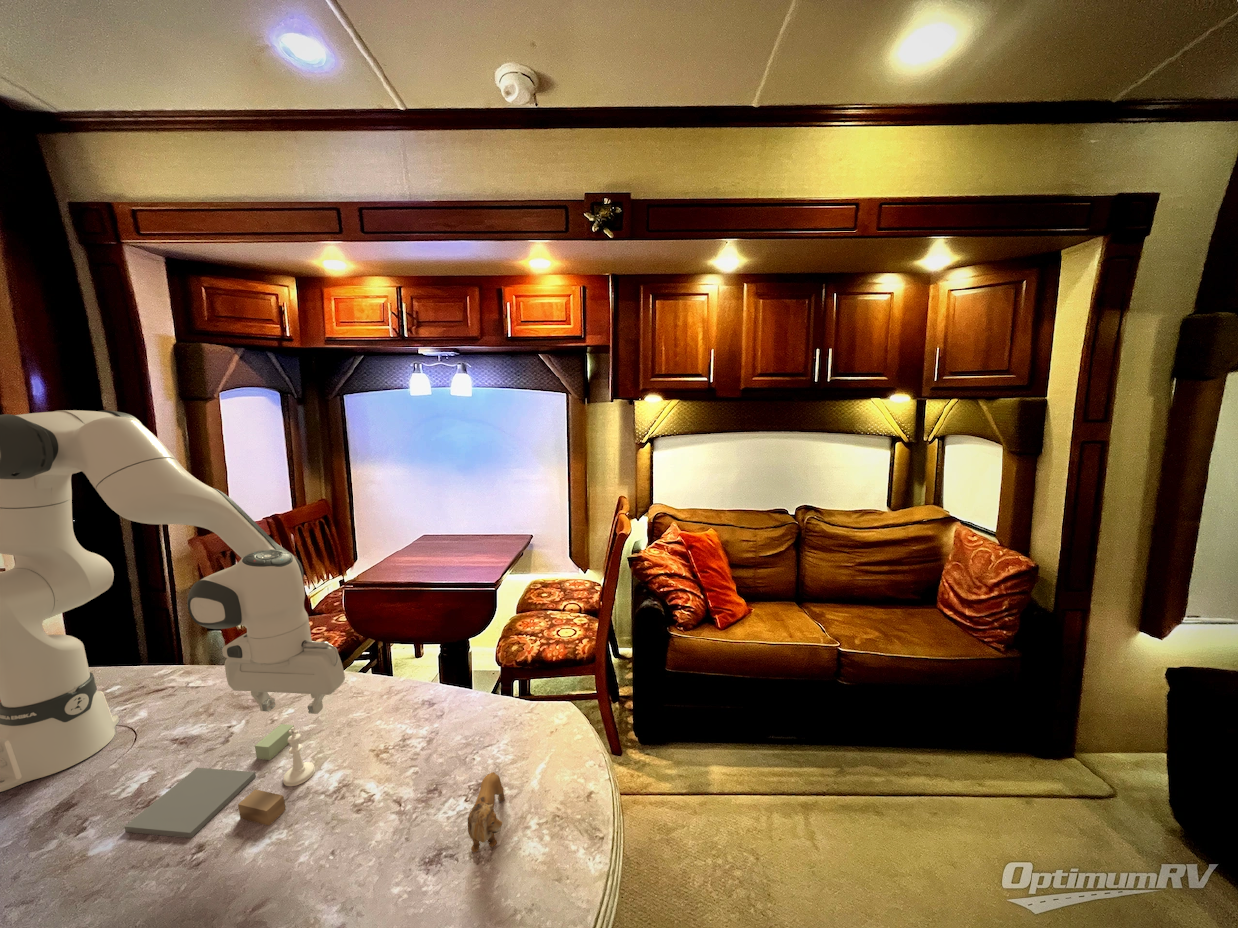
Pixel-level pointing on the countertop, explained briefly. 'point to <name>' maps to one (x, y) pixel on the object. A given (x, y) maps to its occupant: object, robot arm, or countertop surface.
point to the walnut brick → (262, 807)
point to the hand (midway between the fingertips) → (292, 710)
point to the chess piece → (297, 762)
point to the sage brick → (273, 742)
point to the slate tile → (191, 803)
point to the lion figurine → (485, 813)
